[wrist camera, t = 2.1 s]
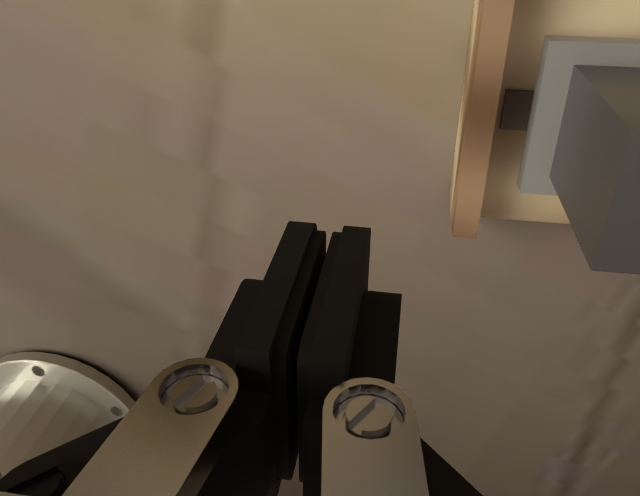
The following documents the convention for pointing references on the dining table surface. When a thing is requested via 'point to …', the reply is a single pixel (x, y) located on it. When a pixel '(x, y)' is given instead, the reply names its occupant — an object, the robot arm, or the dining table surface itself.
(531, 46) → the fader track
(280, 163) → the dining table surface
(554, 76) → the fader knob
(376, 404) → the robot arm
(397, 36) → the dining table surface
